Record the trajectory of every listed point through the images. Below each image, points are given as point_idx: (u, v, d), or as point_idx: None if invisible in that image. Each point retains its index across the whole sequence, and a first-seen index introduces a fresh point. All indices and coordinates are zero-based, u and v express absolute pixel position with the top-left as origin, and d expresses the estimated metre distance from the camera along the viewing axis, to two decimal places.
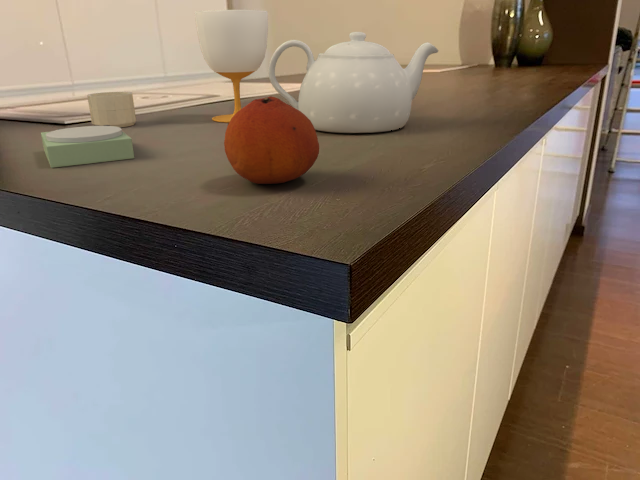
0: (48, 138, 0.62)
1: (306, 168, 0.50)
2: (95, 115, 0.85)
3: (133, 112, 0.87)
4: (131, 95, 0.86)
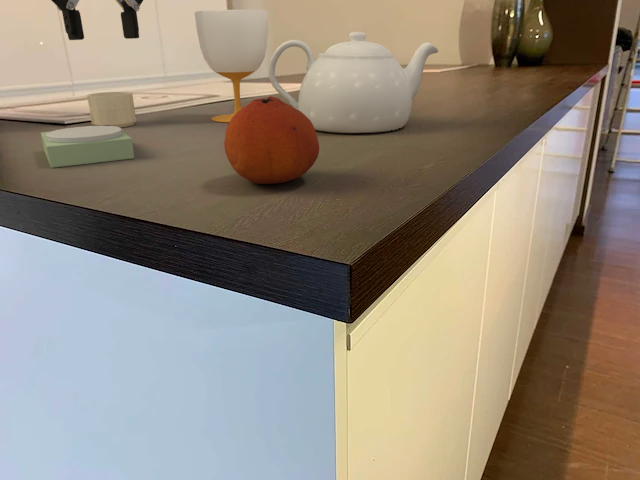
0: (48, 138, 0.62)
1: (306, 168, 0.50)
2: (95, 115, 0.85)
3: (133, 112, 0.87)
4: (131, 95, 0.86)
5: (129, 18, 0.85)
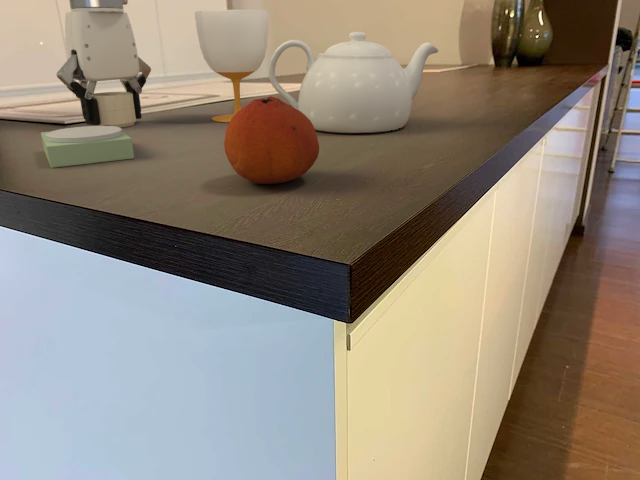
0: (48, 138, 0.62)
1: (306, 168, 0.50)
2: None
3: (133, 112, 0.87)
4: (131, 95, 0.86)
5: None
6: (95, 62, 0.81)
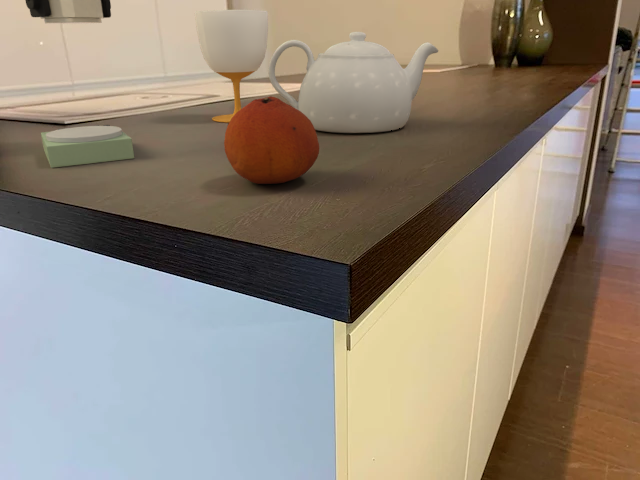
0: (48, 138, 0.62)
1: (306, 168, 0.50)
2: None
3: (99, 3, 0.63)
4: None
5: None
6: None
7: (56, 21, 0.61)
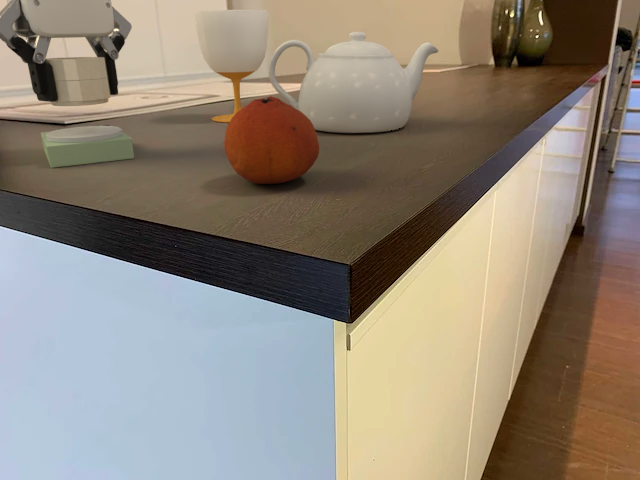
0: (48, 138, 0.62)
1: (306, 168, 0.50)
2: None
3: (106, 84, 0.62)
4: (102, 60, 0.61)
5: None
6: (48, 8, 0.56)
7: (63, 105, 0.60)
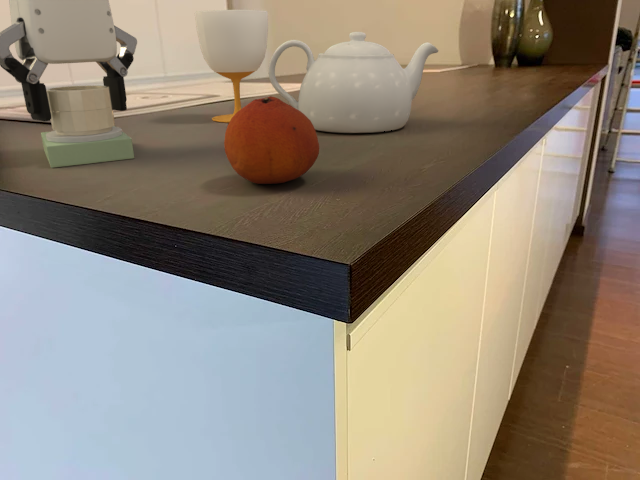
0: (48, 138, 0.62)
1: (306, 168, 0.50)
2: (56, 118, 0.61)
3: (110, 113, 0.63)
4: (107, 90, 0.62)
5: (114, 86, 0.65)
6: (52, 36, 0.57)
7: (68, 134, 0.61)
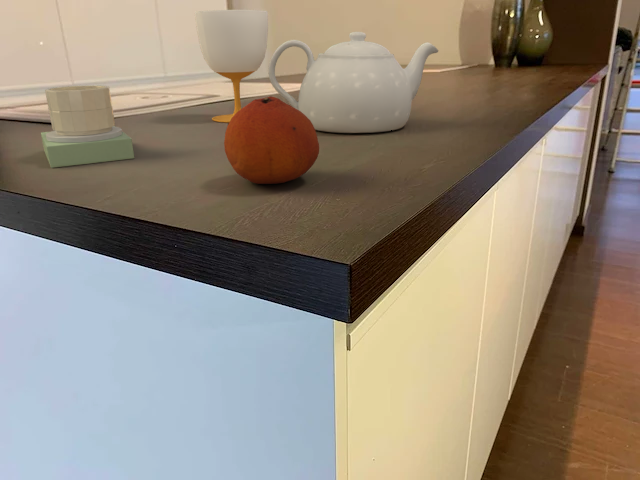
0: (48, 138, 0.62)
1: (306, 168, 0.50)
2: (56, 118, 0.61)
3: (110, 113, 0.63)
4: (107, 90, 0.62)
5: None
6: None
7: (68, 134, 0.61)
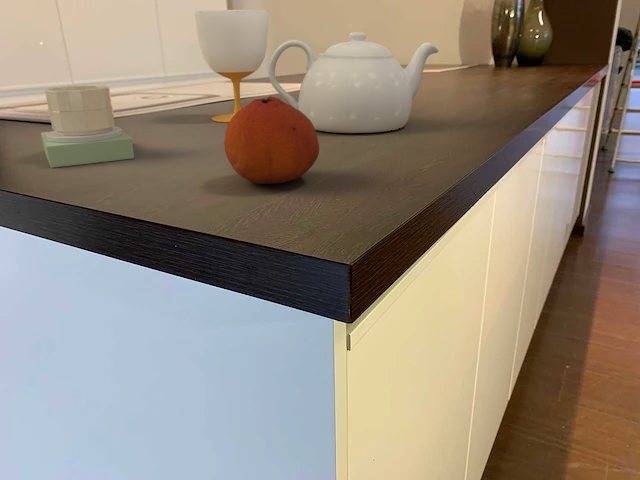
0: (48, 138, 0.62)
1: (306, 168, 0.50)
2: (56, 118, 0.61)
3: (110, 113, 0.63)
4: (107, 90, 0.62)
5: None
6: None
7: (68, 134, 0.61)
